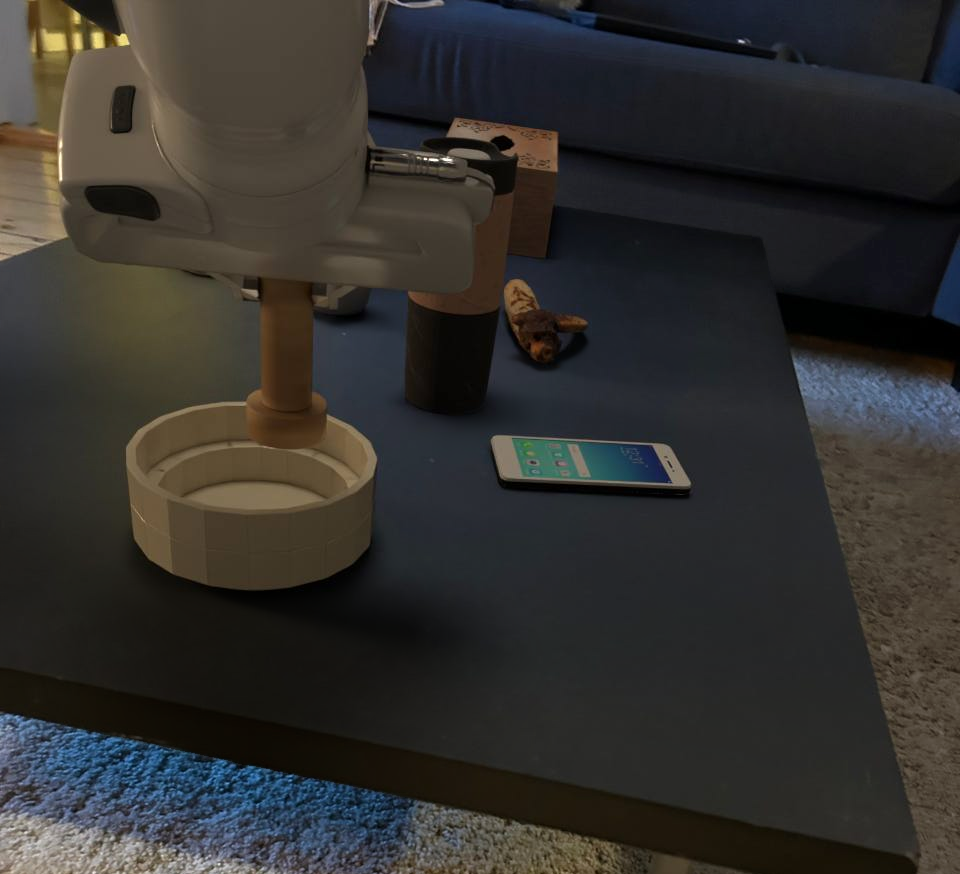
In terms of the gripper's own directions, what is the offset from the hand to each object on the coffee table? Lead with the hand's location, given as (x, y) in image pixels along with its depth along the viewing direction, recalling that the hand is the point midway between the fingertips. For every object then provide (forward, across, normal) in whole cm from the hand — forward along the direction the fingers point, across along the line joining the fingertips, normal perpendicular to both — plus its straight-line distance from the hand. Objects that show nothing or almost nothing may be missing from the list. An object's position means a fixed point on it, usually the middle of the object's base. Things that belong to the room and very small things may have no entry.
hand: (287, 293), depth 58 cm
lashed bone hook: (+41, -22, -18) cm, 50 cm away
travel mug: (+29, -11, -6) cm, 31 cm away
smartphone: (+20, -22, +2) cm, 30 cm away
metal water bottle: (+42, -1, -19) cm, 46 cm away
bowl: (+11, +2, +12) cm, 16 cm away
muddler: (+6, 0, +6) cm, 8 cm away
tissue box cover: (+70, -19, -47) cm, 87 cm away
